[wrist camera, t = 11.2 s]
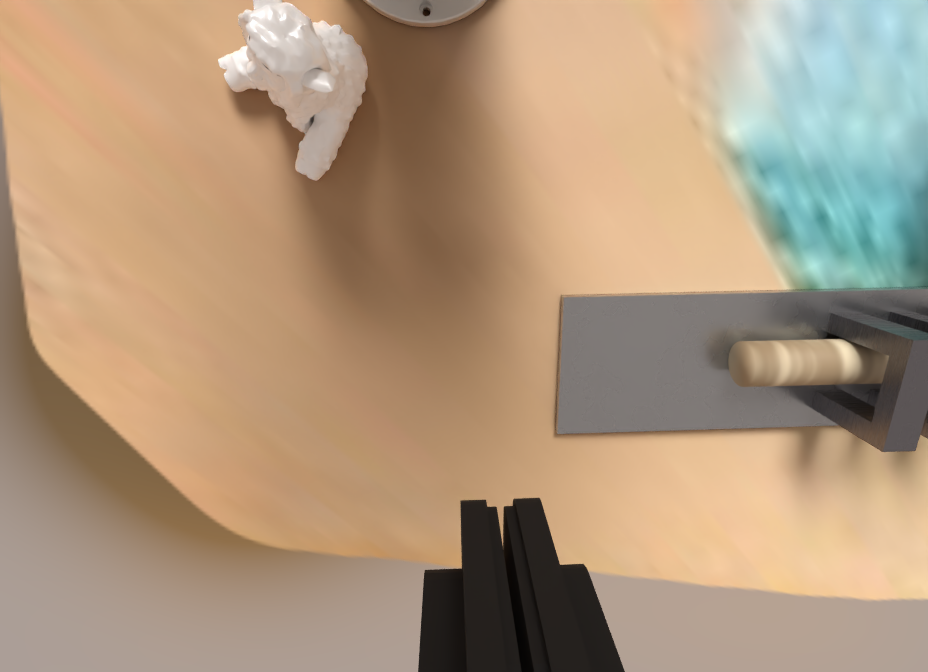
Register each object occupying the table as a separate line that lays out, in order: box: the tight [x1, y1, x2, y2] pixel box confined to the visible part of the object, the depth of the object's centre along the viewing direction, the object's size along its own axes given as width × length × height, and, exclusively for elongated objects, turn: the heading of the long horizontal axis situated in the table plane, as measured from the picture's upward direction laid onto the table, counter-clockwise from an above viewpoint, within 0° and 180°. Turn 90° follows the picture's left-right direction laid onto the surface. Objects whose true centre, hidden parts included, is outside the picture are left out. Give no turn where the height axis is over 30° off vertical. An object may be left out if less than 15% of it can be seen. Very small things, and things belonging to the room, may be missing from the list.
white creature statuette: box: [218, 0, 368, 181], centre depth 28 cm, size 10×9×12 cm
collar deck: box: [555, 287, 928, 452], centre depth 36 cm, size 12×40×9 cm, turn 91°
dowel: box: [728, 339, 889, 387], centre depth 38 cm, size 24×4×4 cm, turn 91°
